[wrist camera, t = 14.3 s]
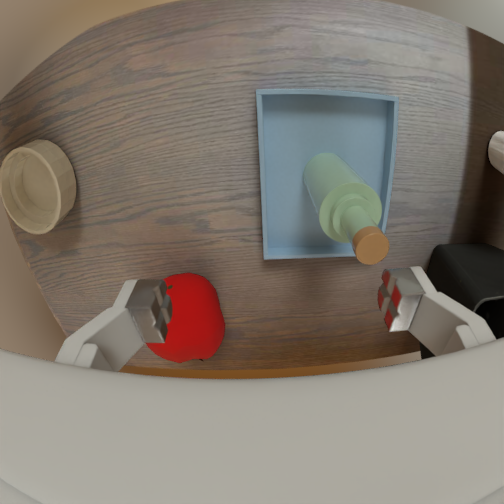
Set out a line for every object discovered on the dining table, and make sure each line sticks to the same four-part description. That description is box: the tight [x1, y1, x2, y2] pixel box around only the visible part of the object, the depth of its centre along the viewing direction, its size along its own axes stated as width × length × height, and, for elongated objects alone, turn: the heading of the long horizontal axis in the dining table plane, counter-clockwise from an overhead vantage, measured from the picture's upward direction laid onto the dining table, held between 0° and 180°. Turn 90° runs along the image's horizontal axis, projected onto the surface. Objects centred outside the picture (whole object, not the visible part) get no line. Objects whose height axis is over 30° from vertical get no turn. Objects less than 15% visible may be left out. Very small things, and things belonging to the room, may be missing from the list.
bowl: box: [0, 139, 76, 234], centre depth 33 cm, size 13×13×5 cm
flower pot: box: [420, 243, 504, 359], centre depth 36 cm, size 19×19×17 cm
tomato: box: [146, 273, 225, 363], centre depth 41 cm, size 13×13×13 cm
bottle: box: [303, 153, 389, 265], centre depth 27 cm, size 6×6×17 cm
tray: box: [256, 89, 399, 259], centre depth 34 cm, size 21×16×3 cm
